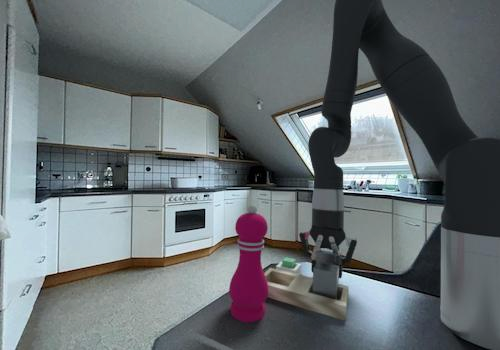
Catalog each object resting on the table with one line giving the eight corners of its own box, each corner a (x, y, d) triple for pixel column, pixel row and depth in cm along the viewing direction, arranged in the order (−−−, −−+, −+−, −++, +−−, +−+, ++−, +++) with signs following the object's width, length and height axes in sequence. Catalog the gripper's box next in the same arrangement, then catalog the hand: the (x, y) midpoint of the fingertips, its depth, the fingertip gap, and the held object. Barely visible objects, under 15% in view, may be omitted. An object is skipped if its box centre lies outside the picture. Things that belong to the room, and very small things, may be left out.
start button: (295, 268, 57) (295, 259, 57) (292, 272, 54) (292, 262, 55) (285, 266, 58) (285, 257, 58) (281, 269, 56) (282, 260, 56)
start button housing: (300, 275, 57) (301, 264, 57) (295, 283, 53) (296, 270, 53) (282, 271, 60) (282, 260, 60) (275, 278, 55) (276, 266, 55)
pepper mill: (268, 328, 36) (273, 207, 36) (225, 326, 36) (231, 205, 37) (266, 304, 43) (270, 203, 44) (230, 302, 43) (234, 202, 44)
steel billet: (336, 278, 54) (337, 250, 54) (334, 285, 50) (335, 255, 50) (318, 274, 56) (319, 247, 56) (315, 281, 52) (316, 251, 52)
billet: (338, 300, 44) (339, 265, 45) (336, 310, 40) (336, 273, 41) (316, 294, 46) (317, 261, 47) (312, 304, 43) (313, 268, 43)
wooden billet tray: (348, 300, 46) (348, 286, 46) (345, 324, 38) (345, 306, 38) (269, 279, 54) (270, 267, 54) (253, 295, 46) (254, 281, 46)
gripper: (359, 208, 54) (358, 278, 53) (303, 204, 61) (301, 266, 60) (359, 211, 47) (358, 290, 46) (295, 206, 54) (293, 275, 53)
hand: (326, 276), depth 53 cm, fingers closed on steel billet, 4 cm apart
